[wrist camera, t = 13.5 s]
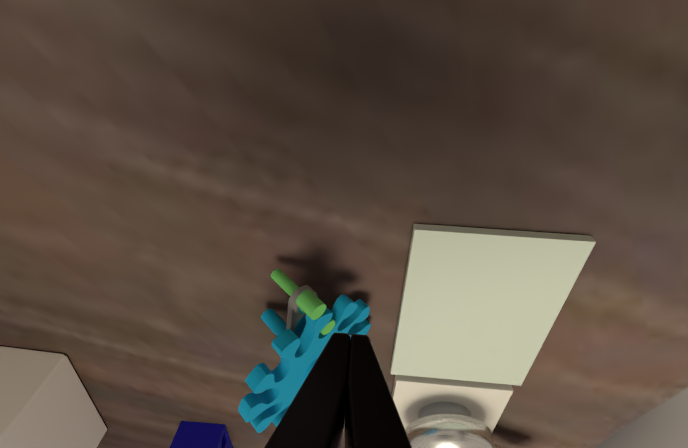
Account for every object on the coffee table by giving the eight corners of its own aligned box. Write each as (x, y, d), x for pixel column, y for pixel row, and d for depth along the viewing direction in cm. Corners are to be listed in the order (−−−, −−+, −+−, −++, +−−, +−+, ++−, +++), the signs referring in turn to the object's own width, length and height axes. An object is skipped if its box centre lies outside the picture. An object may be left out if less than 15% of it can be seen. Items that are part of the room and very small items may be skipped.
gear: (364, 374, 29) (252, 468, 23) (314, 325, 32) (205, 396, 26) (395, 270, 23) (252, 360, 17) (329, 221, 26) (189, 282, 20)
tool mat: (590, 235, 21) (595, 242, 21) (518, 378, 30) (521, 385, 29) (413, 223, 22) (414, 229, 21) (390, 367, 30) (390, 374, 30)
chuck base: (510, 381, 30) (519, 411, 28) (483, 437, 35) (489, 465, 33) (396, 371, 30) (397, 400, 28) (385, 428, 36) (386, 455, 34)
